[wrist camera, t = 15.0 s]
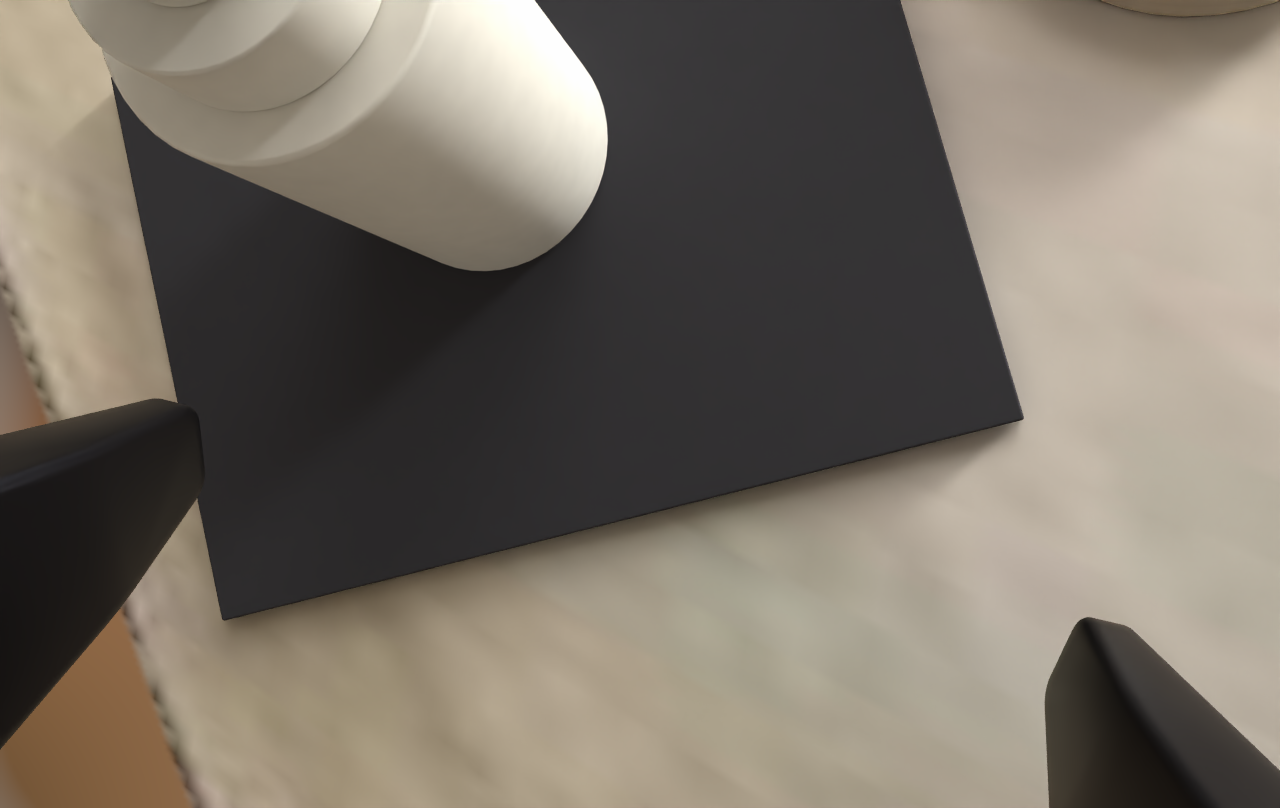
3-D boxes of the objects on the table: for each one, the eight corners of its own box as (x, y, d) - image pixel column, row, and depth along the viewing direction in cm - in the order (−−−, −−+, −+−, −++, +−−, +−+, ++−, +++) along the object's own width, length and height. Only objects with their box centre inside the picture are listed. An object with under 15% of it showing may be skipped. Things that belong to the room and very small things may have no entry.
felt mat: (1021, 419, 20) (1024, 419, 20) (232, 618, 25) (221, 621, 24) (835, -209, 22) (835, -221, 21) (120, 82, 26) (110, 76, 26)
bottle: (635, 229, 22) (354, -33, 10) (407, 301, 23) (-92, 147, 11) (575, -8, 23) (239, -532, 10) (355, 75, 24) (-173, -306, 12)
